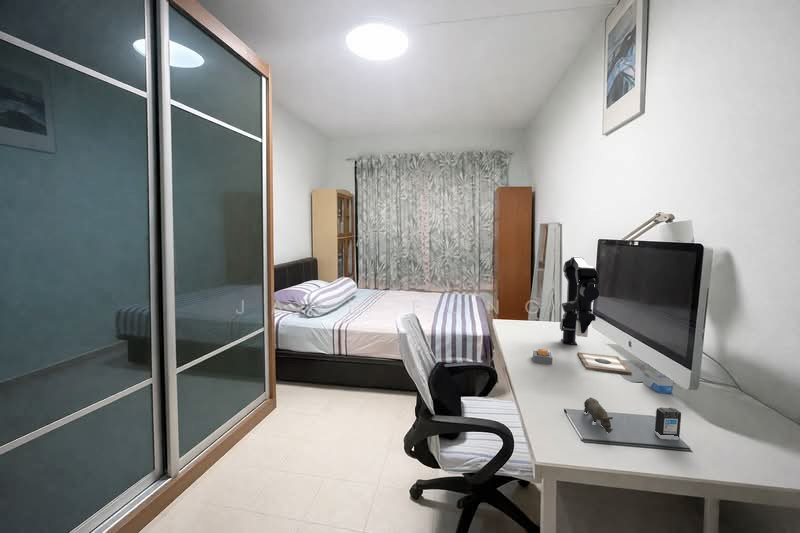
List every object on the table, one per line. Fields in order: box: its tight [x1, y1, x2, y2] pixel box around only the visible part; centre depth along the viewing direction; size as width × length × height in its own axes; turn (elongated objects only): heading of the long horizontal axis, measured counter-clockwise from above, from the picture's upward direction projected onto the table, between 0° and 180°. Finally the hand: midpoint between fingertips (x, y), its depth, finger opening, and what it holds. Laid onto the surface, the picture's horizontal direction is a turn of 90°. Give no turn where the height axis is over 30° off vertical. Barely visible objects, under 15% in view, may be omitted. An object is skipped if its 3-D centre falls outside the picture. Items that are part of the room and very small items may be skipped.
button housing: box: [532, 350, 553, 366], centre depth 148 cm, size 7×7×3 cm
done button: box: [537, 348, 549, 356], centre depth 148 cm, size 4×4×3 cm
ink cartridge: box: [654, 407, 682, 438], centre depth 93 cm, size 5×2×8 cm, turn 87°
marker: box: [575, 320, 589, 338], centre depth 149 cm, size 4×4×7 cm
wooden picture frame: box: [577, 351, 633, 375], centre depth 146 cm, size 18×16×1 cm
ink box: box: [642, 362, 674, 394], centre depth 123 cm, size 9×5×12 cm, turn 179°
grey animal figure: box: [583, 397, 614, 434], centre depth 99 cm, size 4×14×6 cm, turn 175°
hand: (581, 331), depth 150 cm, fingers closed on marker, 4 cm apart
